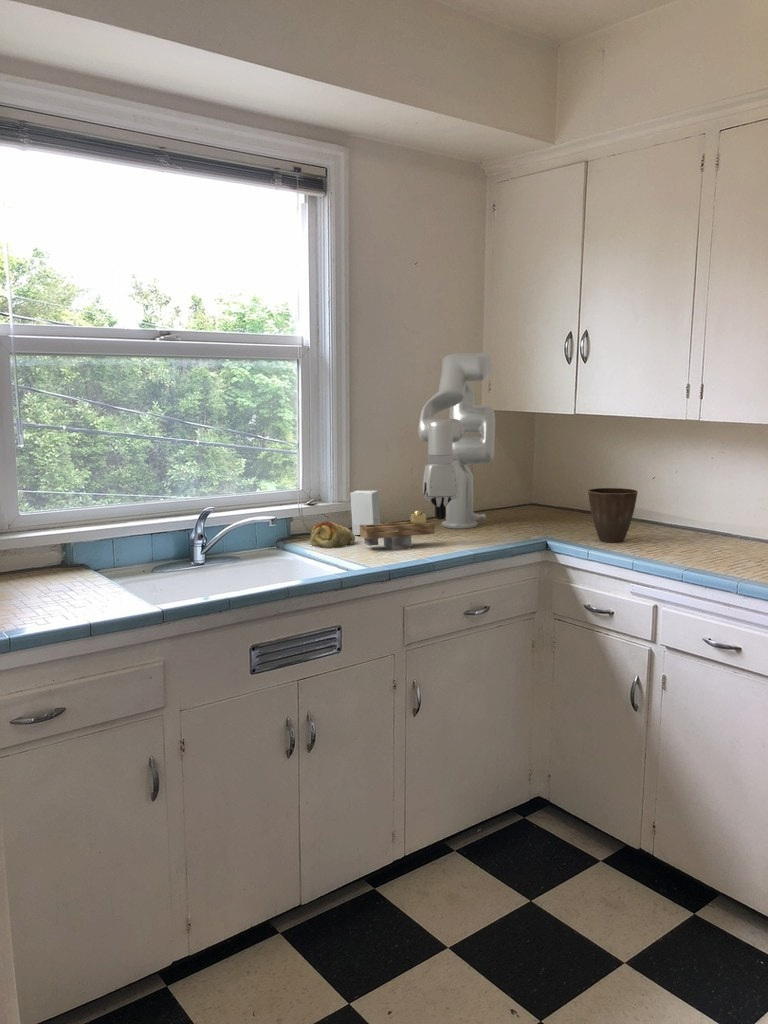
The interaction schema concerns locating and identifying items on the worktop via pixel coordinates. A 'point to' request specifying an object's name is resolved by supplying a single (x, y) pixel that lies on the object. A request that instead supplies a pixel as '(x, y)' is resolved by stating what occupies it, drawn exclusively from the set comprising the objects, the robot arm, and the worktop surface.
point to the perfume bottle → (418, 517)
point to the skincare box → (364, 509)
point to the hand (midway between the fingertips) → (440, 518)
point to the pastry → (331, 535)
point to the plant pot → (612, 512)
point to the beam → (395, 533)
